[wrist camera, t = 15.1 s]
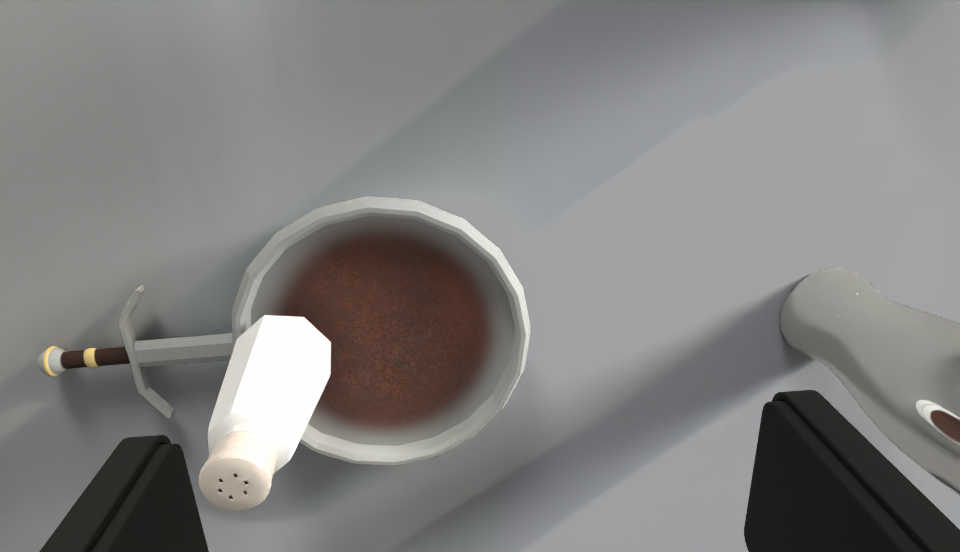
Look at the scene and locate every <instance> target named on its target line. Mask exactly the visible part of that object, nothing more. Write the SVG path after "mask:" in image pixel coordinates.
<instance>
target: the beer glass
mask: <svg viewBox="0 0 960 552" xmlns="http://www.w3.org/2000/svg"><path fill="white" fill-rule="evenodd" d="M780 327H781V331H782V334H783V336H784V338H785V340H786V341H787V342H788V344H789V345H790V346H791V347H793V348H794V349H795V350H797V351H798V352H800V353H802V354H804V355H806V356H808V357H810V358H812V359H814V360H816V361H818V362H820V363H822V364H823V365H824V366H826V367H827V368H828V369H829V370H830V371H831V372H832V373H834V375H835V376H836V377H837V378H838V379H839V381H840V382H841V383H842V384H843V386H844V387H845V388H846V390H847V391H848V392H849V394H850V395H851V396H852V398H853V399H854V400H855V401H856V403H857V404H858V405H859V407H860V408H861V409H862V410H863V412H864V413H865V414H866V415H867V417H868V418H869V419H870V420H871V421H872V422H873V423H874V425H875V426H876V427H877V428H878V429H879V430H880V431H881V433H882V434H883V435H885V436H886V437H887V438H888V439H889V440H890V441H891V442H892V443H893V444H894V445H895V446H896V447H897V448H898V449H900V450H901V451H902V452H903V453H904V454H905V455H907V456H908V457H909V458H910V459H911V460H913V461H914V462H915V463H916V464H918V465H919V466H920V467H921V468H923V469H924V470H925V471H927V472H928V473H929V474H931V475H932V476H933V477H935V478H936V479H937V480H939V481H940V482H941V483H943V484H944V485H946V486H947V487H948V488H950V489H951V490H953V491H954V492H955V493H957V494H958V495H959V496H960V323H958V322H956V321H953V320H950V319H946V318H943V317H940V316H937V315H934V314H931V313H928V312H924V311H921V310H918V309H915V308H911V307H909V306H906V305H903V304H900V303H897V302H895V301H893V300H891V299H889V298H888V297H886V296H885V295H883V294H882V293H881V292H879V291H878V290H877V289H876V288H875V287H874V286H873V285H872V284H871V283H870V282H869V281H868V280H867V279H866V278H865V277H863V276H862V275H860V274H859V273H857V272H855V271H853V270H850V269H846V268H839V267H834V268H827V269H823V270H819V271H817V272H815V273H813V274H811V275H809V276H807V277H806V278H804V279H803V280H802V281H800V282H799V283H798V284H797V285H796V286H795V287H794V288H793V289H792V291H791V292H790V293H789V295H788V296H787V298H786V300H785V302H784V304H783V307H782V310H781V315H780Z"/></svg>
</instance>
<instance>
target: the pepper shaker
mask: <svg viewBox="0 0 960 552" xmlns="http://www.w3.org/2000/svg"><path fill="white" fill-rule="evenodd" d="M330 374H331V342H330V341H329V340H328V339H327V338H326V337H325V336H324V335H323V334H322V333H320V332H319V331H318V330H317V329H316V328H315V327H314V326H313V325H312V324H311V323H310V322H309V321H308V320H307V319H305V318H304V317H294V316H272V315H264V316H263V317H262V318H260V319H259V320H258V321H257V322H256V323H255V324H253V325H252V326H251V327H250V328H249V329H248V330H246V331H245V332H244V333H243V334H242V335H241V336H239V337H238V338H237V340H236V343H235V346H234V350H233V353H232V356H231V359H230V362H229V365H228V368H227V371H226V374H225V377H224V380H223V383H222V386H221V390H220V393H219V396H218V399H217V402H216V405H215V408H214V411H213V414H212V417H211V420H210V424H209V428H208V447H209V458H208V460H207V461H206V463H205V464H204V466H203V467H202V469H201V471H200V474H199V478H198V482H199V488H200V490H201V492H202V494H203V495H204V497H205V498H206V499H207V500H208V501H209V502H210V503H212V504H213V505H214V506H216V507H219V508H221V509H224V510H229V511H243V510H248V509H251V508H253V507H255V506H257V505H259V504H260V503H261V502H263V501H264V500H265V498H266V497H267V496H268V494H269V491H270V488H271V484H272V477H273V474H274V473H275V472H276V471H278V470H279V469H280V468H281V467H283V466H284V465H285V464H286V463H288V462H289V461H290V459H291V457H292V455H293V454H294V452H295V450H296V448H297V446H298V443H299V441H300V439H301V437H302V435H303V433H304V431H305V429H306V426H307V424H308V422H309V420H310V418H311V416H312V414H313V411H314V409H315V407H316V405H317V403H318V401H319V399H320V397H321V394H322V392H323V390H324V388H325V386H326V384H327V382H328V379H329V377H330Z"/></svg>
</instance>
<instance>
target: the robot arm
mask: <svg viewBox="0 0 960 552" xmlns="http://www.w3.org/2000/svg"><path fill="white" fill-rule="evenodd" d="M744 536H745V542H746V545H747V548H748V551H749V552H960V530H959V529H958V528H957V527H956V526H955V525H954V524H953V523H952V522H951V521H950V520H949V519H948V518H947V517H946V516H945V515H944V514H943V513H942V512H941V511H940V510H939V509H938V508H937V507H936V506H935V505H934V504H933V503H932V502H931V501H930V500H928V499H927V498H926V497H925V496H924V495H923V494H922V493H921V492H920V491H919V490H918V489H917V488H916V487H915V486H914V485H913V484H912V483H911V482H910V481H909V480H908V479H907V478H906V477H905V476H904V475H903V474H902V473H901V472H900V471H899V470H898V469H897V468H896V467H895V466H894V465H893V464H892V463H891V462H889V461H888V460H887V459H886V458H885V457H884V456H883V455H882V454H881V453H880V452H879V451H878V450H877V449H876V448H875V447H874V446H873V445H872V444H871V443H870V442H869V441H868V440H867V439H866V438H865V437H864V436H863V435H862V434H861V433H860V432H859V431H858V430H857V429H856V428H855V427H854V426H853V425H851V424H850V423H849V422H848V421H847V420H846V419H845V418H844V417H843V416H842V415H841V414H840V413H839V412H838V411H837V410H836V409H835V408H834V407H833V406H832V405H831V404H830V403H829V402H828V401H827V400H826V399H825V398H824V397H823V396H822V395H821V394H819V393H818V392H817V391H814V390H804V391H790V392H779V393H777V394H775V396H774V397H773V400H772V402H767V403H766V404H765V405H764V407H763V411H762V418H761V424H760V430H759V437H758V443H757V450H756V456H755V463H754V469H753V475H752V482H751V488H750V495H749V501H748V508H747V514H746V521H745V527H744ZM40 552H209V551H208V547H207V543H206V540H205V536H204V532H203V528H202V524H201V520H200V516H199V512H198V508H197V505H196V501H195V497H194V493H193V489H192V485H191V481H190V477H189V474H188V470H187V466H186V462H185V458H184V454H183V451H182V448H181V446H180V445H179V444H171V442H170V440H169V439H168V437H167V436H164V435H157V436H143V437H128V438H125V439H123V440H122V441H121V442H120V443H119V445H118V446H117V447H116V449H115V450H114V451H113V453H112V454H111V455H110V457H109V458H108V459H107V461H106V462H105V464H104V465H103V466H102V468H101V469H100V470H99V472H98V473H97V474H96V476H95V477H94V478H93V480H92V481H91V483H90V484H89V485H88V487H87V488H86V489H85V491H84V492H83V493H82V495H81V496H80V498H79V499H78V500H77V502H76V503H75V504H74V506H73V507H72V508H71V510H70V511H69V512H68V514H67V515H66V517H65V518H64V519H63V521H62V522H61V523H60V525H59V526H58V527H57V529H56V530H55V531H54V533H53V534H52V536H51V537H50V538H49V540H48V541H47V542H46V544H45V545H44V546H43V548H42V549H41V550H40Z"/></svg>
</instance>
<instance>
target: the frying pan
mask: <svg viewBox="0 0 960 552" xmlns="http://www.w3.org/2000/svg"><path fill="white" fill-rule="evenodd" d="M144 290H145V288H144V285H141V286H139V287H138V288H137V289H136V290H135V291H134V292H133V294H132V296H131V298H130V300H129V301H128V303H127V305H126V307H125V309H124V311H123V313H122V315H121V317H120V319H119V321H118V324H119V327H120V331H121V334H122V338H123V342H124V345H125V347H119V348H107V349H96V348H89V349H86V350H82V351H70V352H66V351H65V350H63V349H60V348H58V347H56V346H51V347H49V348H48V349H47V350H45V351H44V352H42V353H41V355H40V356H39V358H38V367H39V368H40V370H41V371H42V372H44V373H46V374H48V375H49V376H52V377H54V376H57V375H59V374H60V373H62V372H64V371H65V370H66V369H69V368H81V367H89V368H97V367H99V366H105V365H117V364H129V363H130V367H131V370H132V374H133V378H134V381H135V385H136V388H137V391H138V393H139V394H140V395H141V396H142V397H144V398H145V399H146V400H147V401H148V402H149V403H150V404H151V405H152V406H154V407H155V408H156V409H157V410H158V411H159V412H160V413H161V414H162V415H164V416H165V417H166V418H167V419H170V418H171V416H172V414H173V413H174V411H175V410H174V409H173V408H172V407H171V406H170V405H169V404H168V403H167V402H166V401H165V400H164V399H163V398H161V397H160V396H159V395H158V394H157V393H156V392H155V391H154V390H153V389H152V388H151V387H150V386H149V384H148V380H147V376H146V372H145V369H144V367H152V366H164V365H176V364H187V363H199V362H211V361H223V360H230V359H231V356H232V353H233V350H234V346H235V343H236V340H237V338H238V337H239V336H241V335H242V334H243V333H244V332H245V331H246V330H248V329H249V328H250V327H251V326H252V325H253V324H255V323H256V322H257V321H258V320H259V319H260V318H262V317H263V316H264V315H272V316H294V317H304V318H305V319H307V320H308V321H309V322H310V323H311V324H312V325H313V326H314V327H315V328H316V329H317V330H318V331H319V332H320V333H322V334H323V335H324V336H325V337H326V338H327V339H328V340H329V341H330V342H331V374H330V377H329V379H328V382H327V384H326V386H325V388H324V390H323V392H322V394H321V397H320V399H319V401H318V403H317V405H316V407H315V409H314V411H313V414H312V416H311V418H310V420H309V422H308V424H307V426H306V429H305V431H304V433H303V435H302V437H301V439H300V441H299V442H300V443H301V444H303V445H304V446H306V447H307V448H309V449H311V450H312V451H314V452H316V453H320V454H323V455H326V456H330V457H333V458H336V459H340V460H343V461H346V462H350V463H353V464H366V465H393V466H398V465H402V464H406V463H411V462H415V461H419V460H424V459H428V458H432V457H437V456H439V455H441V454H443V453H445V452H447V451H448V450H450V449H452V448H454V447H456V446H458V445H460V444H461V443H463V442H465V441H467V440H469V439H471V438H472V437H474V436H475V435H476V434H477V433H478V432H479V431H480V430H481V429H482V428H483V427H484V426H485V425H486V424H487V423H488V422H489V421H490V420H491V419H492V418H493V417H494V416H495V415H496V414H497V413H498V412H499V411H500V410H501V409H502V408H503V407H504V406H505V405H506V403H507V402H508V400H509V398H510V396H511V394H512V392H513V390H514V388H515V386H516V384H517V382H518V381H519V379H520V377H521V375H522V373H523V371H524V369H525V363H526V356H527V350H528V343H529V337H530V330H531V328H530V322H529V317H528V312H527V307H526V302H525V297H524V292H523V287H522V286H521V284H520V282H519V281H518V279H517V277H516V276H515V274H514V272H513V270H512V269H511V267H510V265H509V264H508V262H507V260H506V259H505V257H504V255H503V254H502V252H501V250H500V249H499V248H498V247H496V246H495V245H494V244H493V243H492V242H491V241H489V240H488V239H487V238H486V237H485V236H483V235H482V234H481V233H480V232H479V231H478V230H476V229H475V228H474V227H473V226H472V225H470V224H469V223H468V222H467V221H466V220H465V219H462V218H460V217H458V216H455V215H453V214H450V213H448V212H445V211H443V210H441V209H438V208H436V207H433V206H431V205H428V204H426V203H423V202H421V201H419V200H407V199H395V198H383V197H371V196H367V197H362V198H358V199H353V200H349V201H344V202H340V203H335V204H331V205H327V206H322V207H318V208H316V209H315V210H313V211H311V212H310V213H308V214H306V215H305V216H303V217H301V218H300V219H298V220H296V221H295V222H293V223H291V224H290V225H288V226H286V227H285V228H283V229H281V230H280V231H278V232H276V233H275V235H274V236H273V237H272V238H271V239H270V241H269V242H268V243H267V244H266V245H265V247H264V248H263V249H262V250H261V251H260V253H259V254H258V255H257V256H256V257H255V259H254V260H253V261H252V262H251V263H250V265H249V266H248V267H247V268H246V271H245V274H244V276H243V279H242V282H241V285H240V288H239V291H238V294H237V296H236V299H235V302H234V305H233V308H232V333H228V334H216V335H204V336H191V337H179V338H167V339H154V340H142V341H137V339H136V335H135V332H134V328H133V324H132V321H131V317H130V316H131V314H132V313H133V311H134V309H135V307H136V305H137V303H138V301H139V299H140V297H141V295H142V294H143V292H144Z"/></svg>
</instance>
